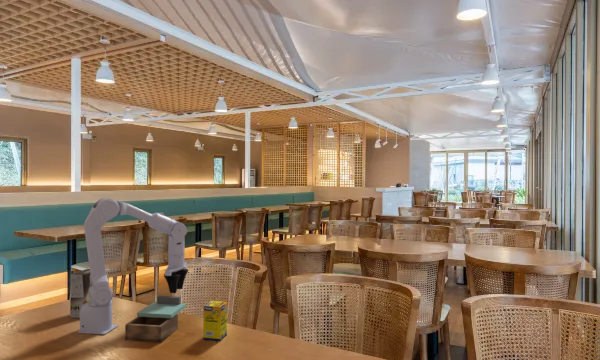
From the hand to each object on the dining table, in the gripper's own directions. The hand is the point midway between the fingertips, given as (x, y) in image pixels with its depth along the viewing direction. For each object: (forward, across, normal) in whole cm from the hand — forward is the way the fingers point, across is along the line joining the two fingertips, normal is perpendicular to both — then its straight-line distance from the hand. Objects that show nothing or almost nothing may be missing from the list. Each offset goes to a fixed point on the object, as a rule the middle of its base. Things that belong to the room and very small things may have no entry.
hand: (176, 290), depth 155 cm
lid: (+4, -11, 0) cm, 12 cm away
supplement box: (+10, -17, -21) cm, 29 cm away
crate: (+9, -18, 0) cm, 20 cm away
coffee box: (+10, -3, +34) cm, 35 cm away
